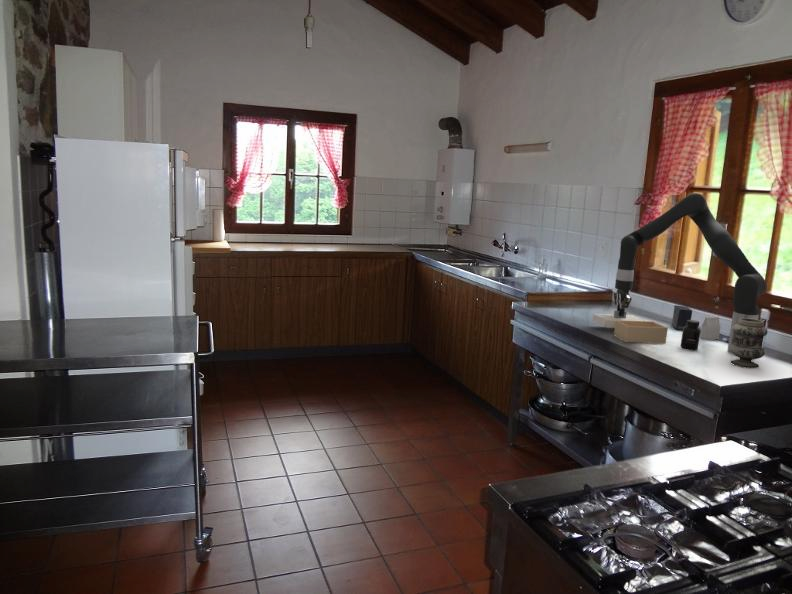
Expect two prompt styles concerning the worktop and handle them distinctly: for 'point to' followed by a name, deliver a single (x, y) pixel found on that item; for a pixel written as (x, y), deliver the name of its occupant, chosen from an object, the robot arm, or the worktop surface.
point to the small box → (681, 317)
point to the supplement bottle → (690, 335)
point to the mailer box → (641, 331)
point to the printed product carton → (710, 328)
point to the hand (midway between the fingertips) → (620, 315)
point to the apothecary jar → (748, 342)
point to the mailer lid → (613, 319)
